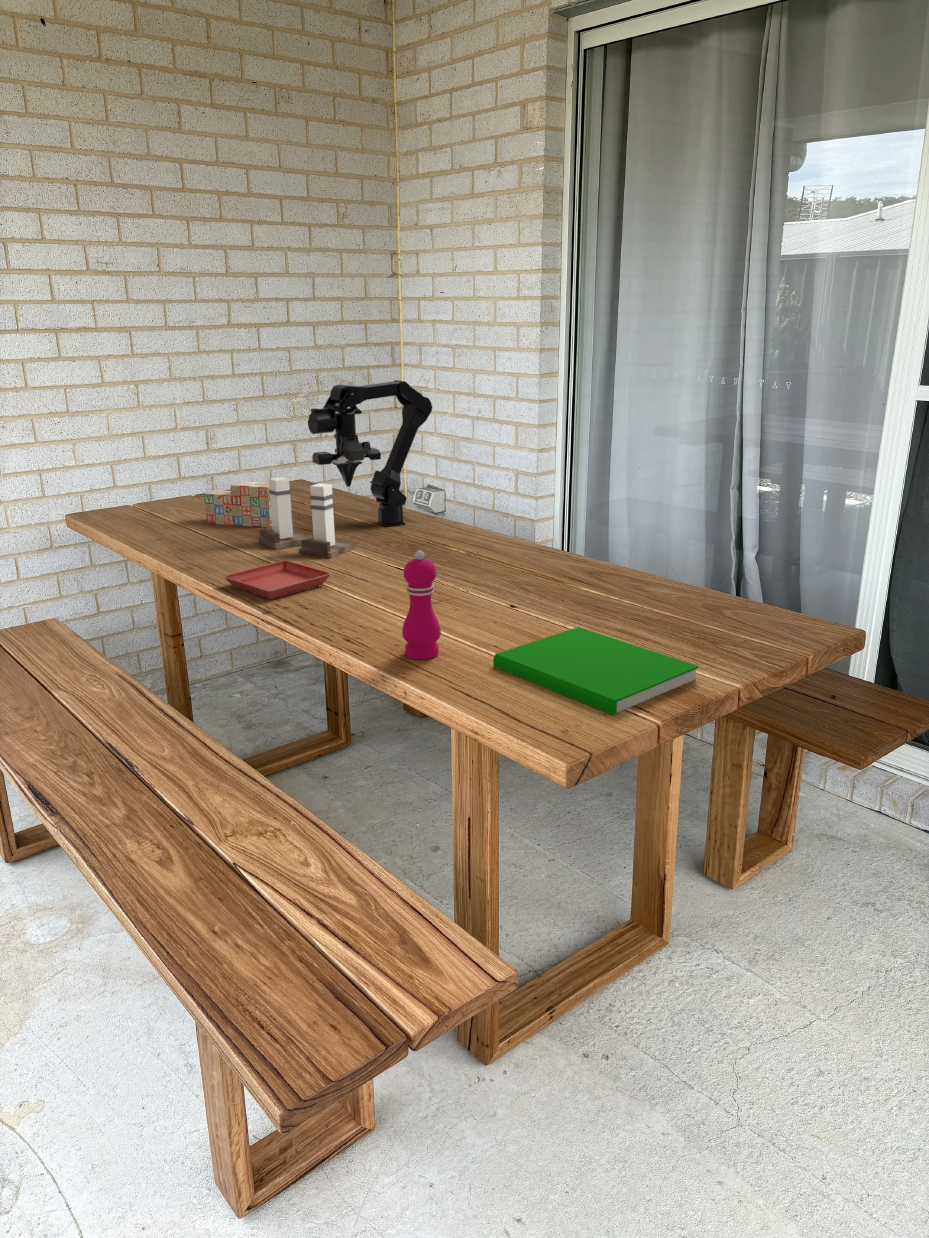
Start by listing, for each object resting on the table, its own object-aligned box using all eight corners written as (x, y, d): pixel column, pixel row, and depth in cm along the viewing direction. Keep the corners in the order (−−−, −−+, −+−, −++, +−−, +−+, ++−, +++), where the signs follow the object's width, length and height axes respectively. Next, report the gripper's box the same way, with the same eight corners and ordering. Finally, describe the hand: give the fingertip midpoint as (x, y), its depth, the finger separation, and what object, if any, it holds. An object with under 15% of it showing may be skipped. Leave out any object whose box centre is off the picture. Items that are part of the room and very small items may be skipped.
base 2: (323, 544, 256) (323, 530, 255) (355, 547, 252) (354, 533, 251) (298, 554, 246) (297, 539, 244) (331, 558, 242) (330, 543, 240)
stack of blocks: (206, 524, 282) (202, 483, 278) (217, 519, 287) (213, 479, 283) (270, 527, 276) (267, 486, 272) (280, 523, 282) (277, 482, 278)
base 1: (297, 536, 265) (296, 522, 264) (315, 542, 258) (314, 528, 256) (259, 543, 258) (258, 528, 257) (276, 549, 251) (275, 535, 249)
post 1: (286, 534, 259) (282, 476, 254) (293, 536, 256) (289, 478, 251) (272, 536, 257) (267, 478, 252) (279, 539, 254) (275, 480, 249)
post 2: (322, 542, 250) (318, 483, 245) (335, 544, 248) (332, 484, 243) (313, 546, 246) (309, 486, 241) (327, 547, 244) (323, 487, 239)
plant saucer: (269, 604, 207) (268, 590, 206) (223, 588, 218) (222, 575, 217) (333, 586, 219) (332, 573, 218) (286, 572, 231) (285, 559, 230)
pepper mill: (402, 647, 179) (399, 546, 172) (440, 646, 179) (438, 545, 173) (403, 661, 172) (399, 556, 165) (442, 660, 172) (440, 555, 166)
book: (578, 641, 183) (578, 626, 182) (697, 682, 163) (698, 666, 162) (493, 670, 169) (493, 654, 168) (612, 718, 149) (613, 701, 148)
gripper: (324, 436, 250) (327, 494, 255) (388, 431, 259) (389, 487, 264) (310, 432, 260) (313, 488, 265) (371, 427, 268) (374, 481, 273)
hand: (348, 486), depth 266 cm, fingers closed
